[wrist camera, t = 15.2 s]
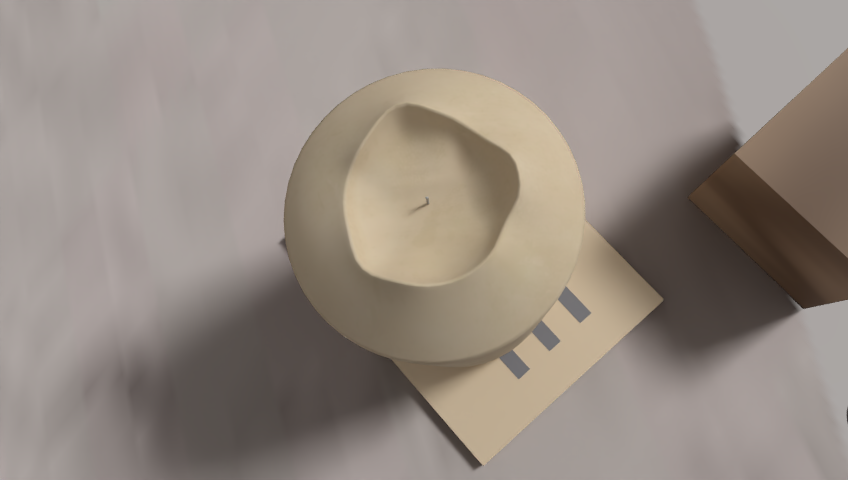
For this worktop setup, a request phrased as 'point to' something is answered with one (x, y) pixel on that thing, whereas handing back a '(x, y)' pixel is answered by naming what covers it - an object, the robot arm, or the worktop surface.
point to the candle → (435, 217)
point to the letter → (540, 353)
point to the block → (792, 192)
